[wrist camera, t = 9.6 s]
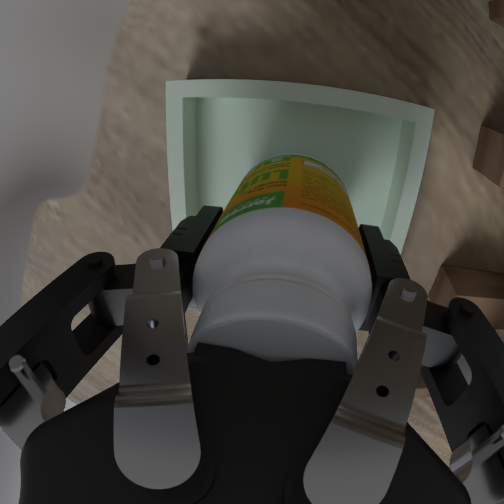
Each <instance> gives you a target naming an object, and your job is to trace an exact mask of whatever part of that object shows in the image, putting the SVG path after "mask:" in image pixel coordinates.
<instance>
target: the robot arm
mask: <svg viewBox="0 0 504 504" xmlns="http://www.w3.org/2000/svg"><path fill="white" fill-rule="evenodd" d="M222 213H223V208H222V207H218V206H207V205H204V206H203V207H202V208H201V210H200V211H199V212H198V214H197V215H196V216H189V217H187V218H185V219H183V220H182V221H180V223H179V224H178V225H177V227H176V229H174V230H173V232H172V234H170V236H169V237H168V238H167V240H166V241H165V242H164V243H163V245H162V246H161V247H160V248H157V249H151V250H148V251H146V252H144V253H142V254H141V255H140V256H139V257H138V258H137V261H136V264H127V265H115V261H114V257H113V256H112V255H111V254H109V253H107V252H95V253H91V254H88V255H86V256H84V257H83V258H81V259H80V260H79V261H77V262H76V263H75V264H74V265H72V266H71V267H70V268H68V269H67V270H66V271H65V272H63V273H62V274H61V275H60V276H58V277H57V278H56V279H55V280H53V281H52V282H51V283H50V284H48V285H47V286H46V287H45V288H44V289H42V290H41V291H40V292H39V293H38V294H36V295H35V296H34V297H33V298H32V299H31V300H29V301H28V302H27V303H26V304H25V305H24V306H22V307H21V308H20V309H19V310H18V311H17V312H16V313H14V314H13V315H12V316H11V317H10V318H9V319H8V320H7V321H6V322H5V323H3V324H2V325H1V326H0V429H2V430H3V431H4V432H5V433H6V434H7V435H8V436H9V437H10V438H11V440H13V442H14V443H15V444H16V445H17V446H18V447H19V448H20V449H21V450H22V453H21V460H20V468H21V490H20V500H19V504H504V343H503V342H502V340H501V339H500V337H499V336H498V334H497V333H496V331H495V330H494V328H493V327H492V325H491V324H490V322H489V321H488V319H487V318H486V317H485V315H484V314H483V312H482V311H481V309H480V308H479V307H478V306H477V305H476V304H475V303H473V302H472V301H470V300H468V299H465V298H461V297H456V298H453V299H452V300H451V301H450V303H449V305H448V307H444V306H441V305H438V304H435V303H433V302H430V301H428V300H427V299H428V295H427V292H426V291H425V289H424V288H423V287H422V286H421V285H420V284H418V283H416V282H415V281H412V280H410V277H409V275H408V272H407V270H406V267H405V265H404V263H403V260H402V258H401V257H400V253H399V251H398V248H397V247H396V246H395V245H394V244H393V243H392V242H391V241H390V240H386V239H384V238H383V236H382V233H381V231H380V228H379V227H378V226H373V225H366V224H360V226H359V232H360V235H361V239H362V242H363V246H364V249H365V253H366V256H367V260H368V264H369V269H370V274H371V281H372V298H371V304H370V308H369V311H368V314H367V316H366V318H365V320H364V322H363V324H362V325H361V327H360V329H359V330H364V331H369V336H368V339H367V341H366V343H365V346H364V348H363V350H362V353H361V355H360V357H359V360H358V365H357V367H356V369H355V372H354V374H353V375H351V374H348V373H347V368H346V362H342V361H330V360H319V359H301V360H290V361H277V362H271V361H267V360H264V359H261V358H258V357H255V356H253V355H250V354H247V353H245V352H242V351H239V350H237V349H234V348H229V347H223V346H217V345H211V344H206V343H200V342H198V343H197V346H196V349H195V351H194V352H193V353H187V351H188V337H187V328H186V320H185V312H186V310H187V308H188V307H191V308H197V307H196V303H195V299H194V295H193V274H194V269H195V265H196V262H197V260H198V257H199V255H200V253H201V251H202V249H203V246H204V245H205V243H206V241H207V239H208V238H209V236H210V234H211V232H212V231H213V229H214V227H215V225H216V224H217V222H218V220H219V218H220V217H221V215H222ZM87 304H88V305H89V308H90V310H91V313H90V314H89V315H88V316H87V317H86V318H85V319H84V320H83V321H82V322H81V323H80V324H79V325H78V326H77V327H76V328H75V329H74V330H73V331H72V330H71V322H72V320H73V318H74V316H75V315H76V314H77V313H78V312H79V311H80V310H82V309H83V308H84V307H85V306H86V305H87ZM121 334H122V346H121V361H120V381H119V383H117V384H115V385H113V386H112V387H110V388H108V389H106V390H104V391H102V392H101V393H99V394H97V395H95V396H93V397H91V398H89V399H87V400H86V401H84V402H82V403H80V404H78V405H76V406H74V407H72V408H71V409H68V410H67V411H65V412H64V411H63V410H64V408H65V404H66V397H67V396H68V395H69V394H70V393H71V392H72V390H73V389H74V388H75V387H76V386H77V384H78V383H79V382H80V381H81V380H82V379H83V378H84V376H85V375H86V374H87V373H88V372H89V371H90V369H91V368H92V367H93V366H94V365H95V364H96V363H97V361H98V360H99V359H100V358H101V357H102V356H103V355H104V354H105V352H106V351H107V350H108V349H109V348H110V347H111V346H112V345H113V343H114V342H115V341H116V340H117V339H118V338H119V337H120V336H121ZM462 354H463V356H464V358H465V360H466V362H467V363H468V365H469V367H470V369H471V373H472V379H471V382H470V384H469V385H468V383H467V381H466V379H465V377H464V375H463V373H462V371H461V369H460V367H459V365H458V364H457V361H458V360H459V358H460V357H461V356H462ZM420 372H421V375H422V377H423V379H424V382H425V384H426V386H427V389H428V391H429V393H430V396H431V398H432V401H433V403H434V406H435V408H436V411H437V413H438V416H439V418H440V421H441V424H442V426H443V429H444V432H445V434H446V437H447V440H448V443H449V445H450V448H451V451H452V455H451V458H450V467H448V466H447V465H446V464H445V463H444V462H443V461H442V460H441V459H440V458H439V456H438V455H437V454H436V453H435V452H434V451H433V450H432V449H431V448H430V447H429V445H428V444H427V443H426V442H425V441H424V440H423V439H422V438H421V437H420V436H419V434H418V433H417V432H416V431H415V430H414V429H413V428H412V427H411V426H410V425H409V423H408V422H407V420H408V417H409V413H410V410H411V406H412V403H413V399H414V395H415V391H416V387H417V383H418V379H419V374H420Z"/></svg>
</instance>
